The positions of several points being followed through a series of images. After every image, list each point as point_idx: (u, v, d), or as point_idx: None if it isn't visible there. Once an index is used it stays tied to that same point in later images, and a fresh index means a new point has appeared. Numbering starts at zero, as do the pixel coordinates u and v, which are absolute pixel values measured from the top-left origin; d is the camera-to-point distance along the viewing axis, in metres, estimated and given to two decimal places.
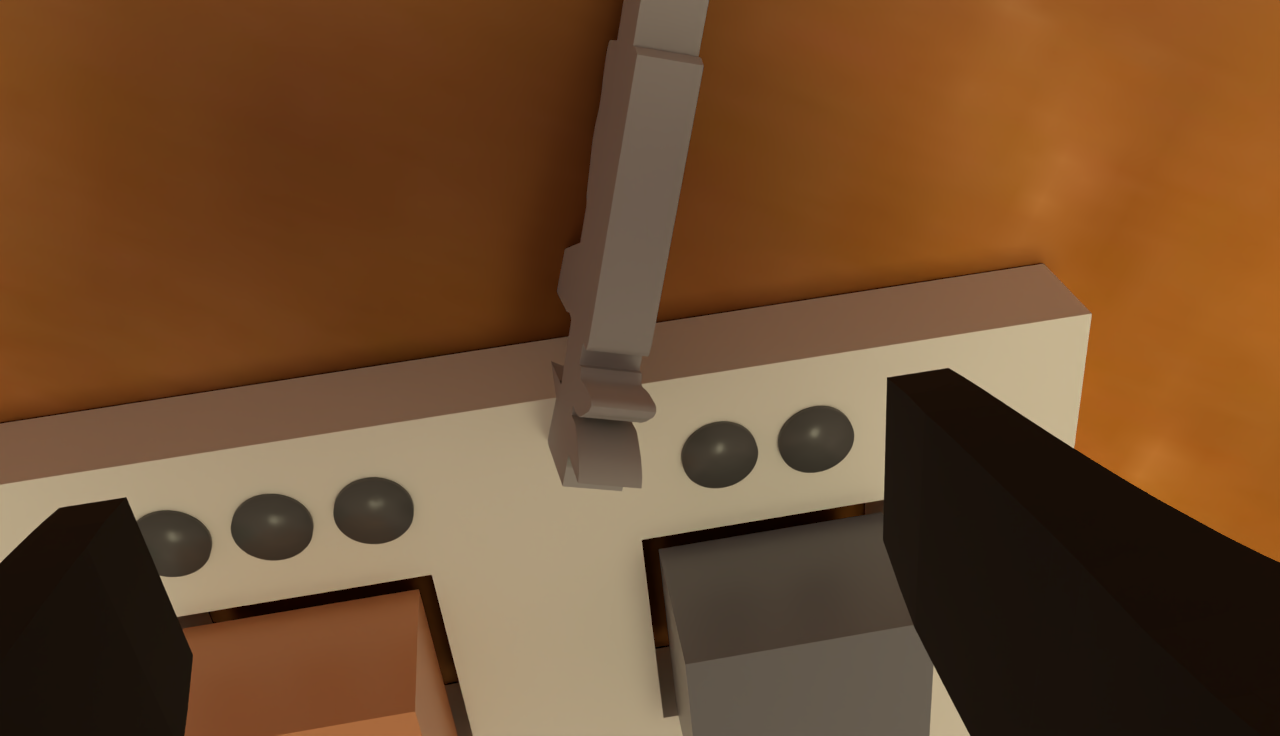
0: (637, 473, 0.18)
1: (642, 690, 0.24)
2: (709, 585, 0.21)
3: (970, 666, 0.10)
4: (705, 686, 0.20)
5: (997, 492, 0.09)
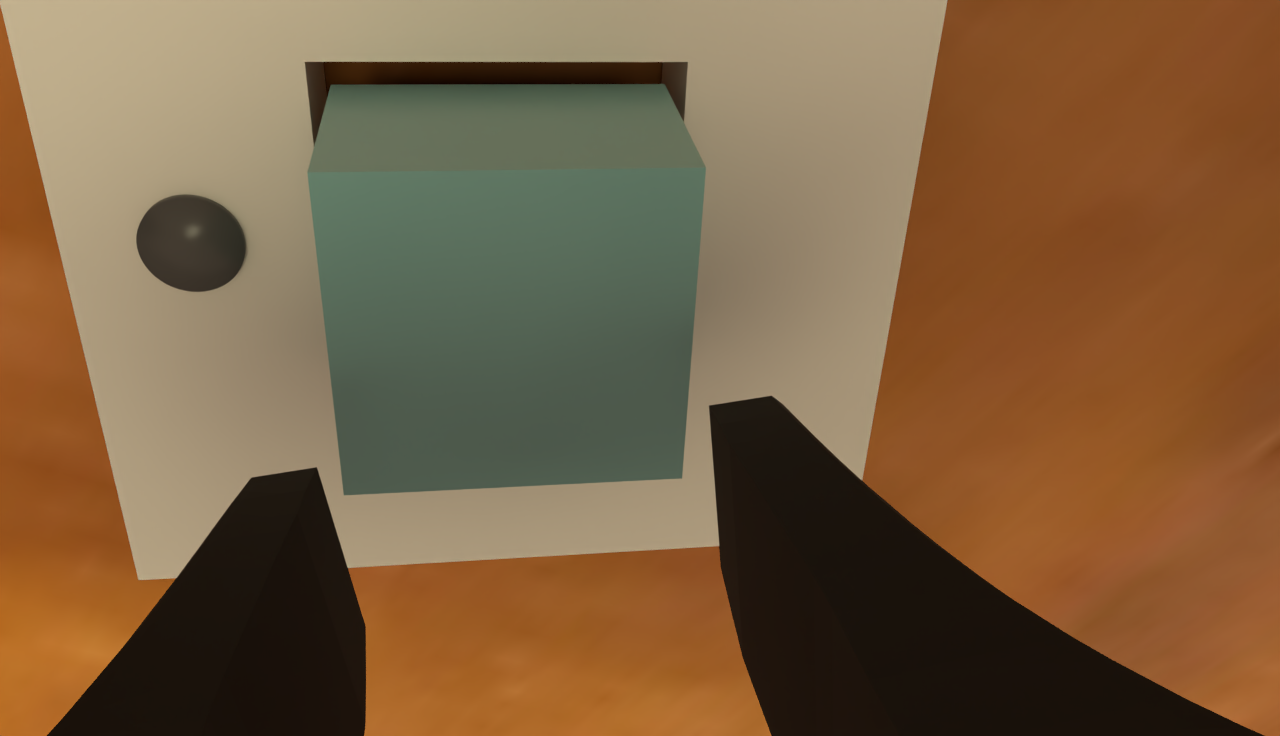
0: None
1: None
2: None
3: (778, 701, 0.10)
4: None
5: (778, 528, 0.09)
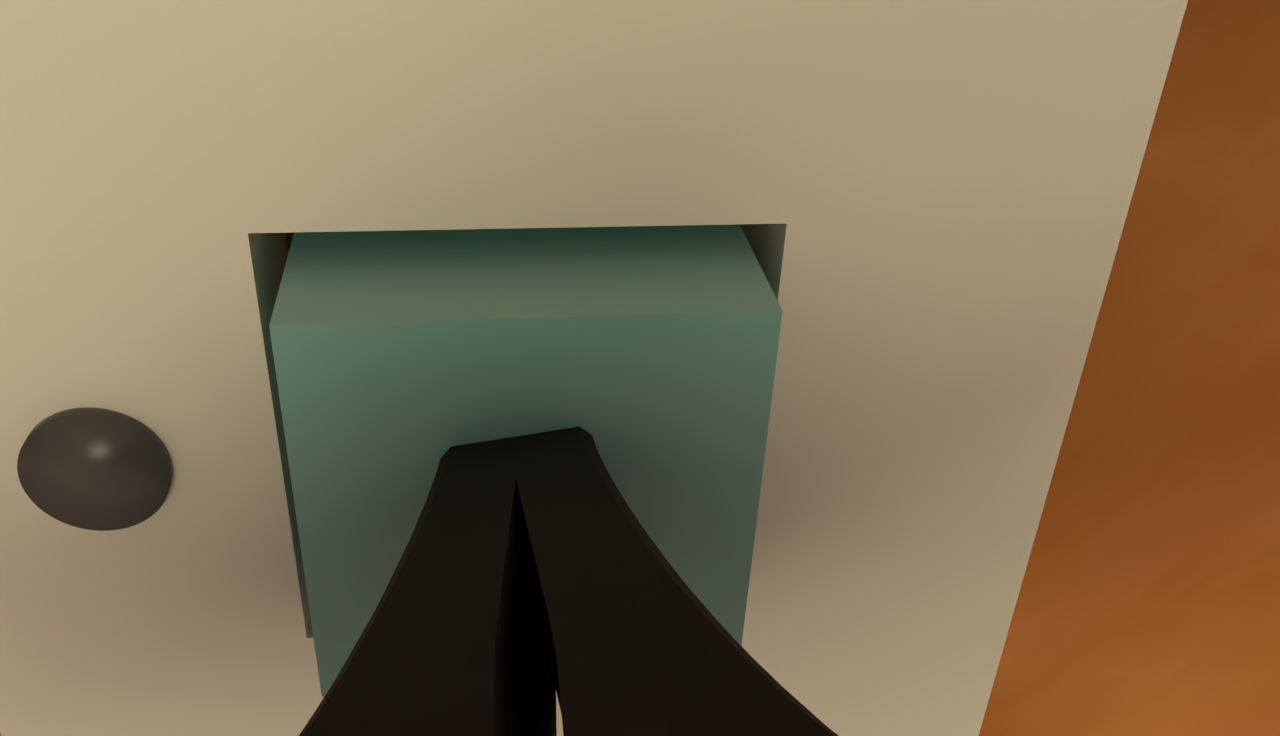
0: None
1: None
2: None
3: None
4: None
5: (537, 568, 0.09)
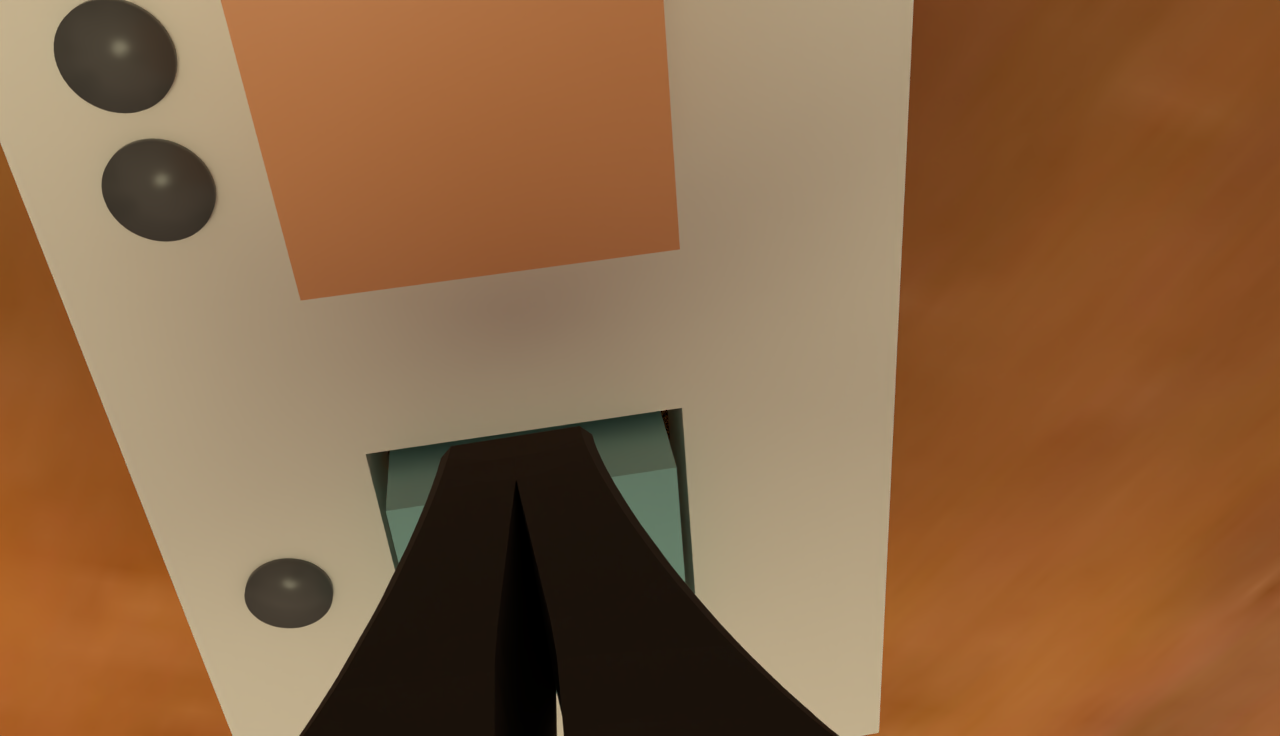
0: None
1: None
2: None
3: None
4: None
5: (538, 568, 0.09)
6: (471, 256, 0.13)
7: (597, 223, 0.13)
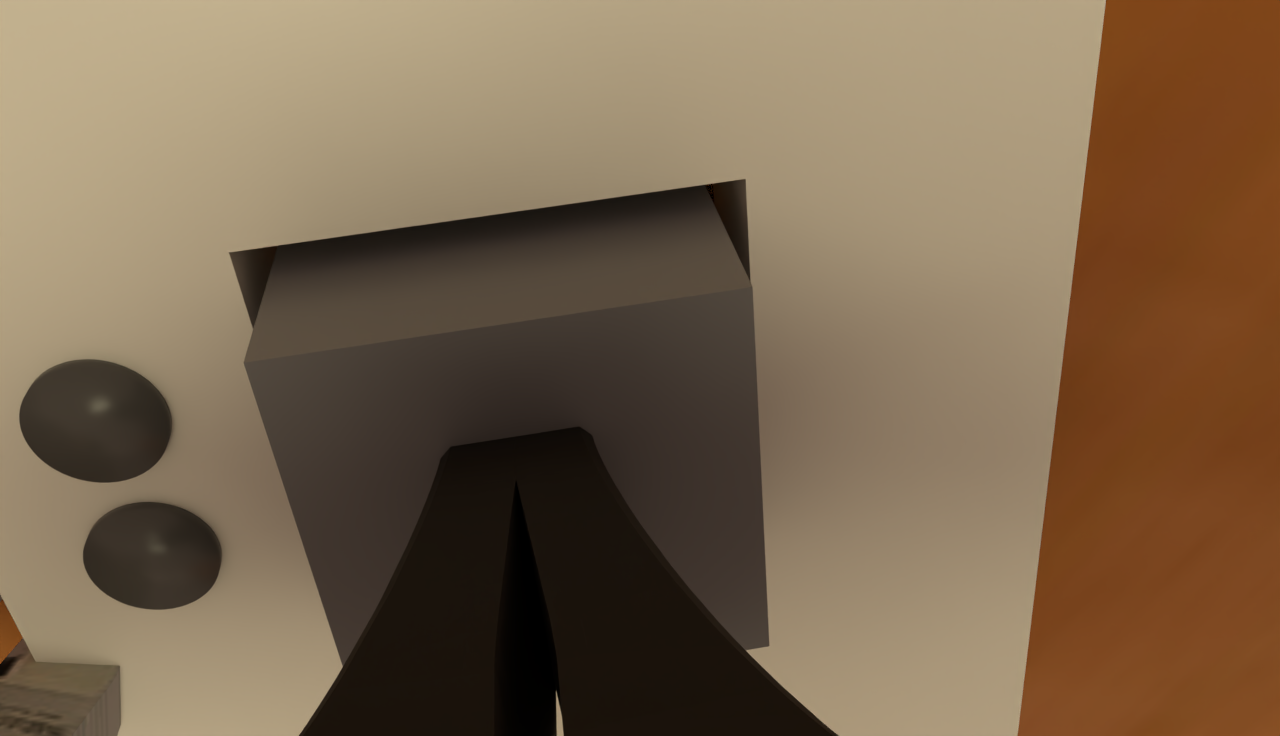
0: None
1: None
2: None
3: None
4: None
5: (538, 568, 0.09)
6: None
7: None
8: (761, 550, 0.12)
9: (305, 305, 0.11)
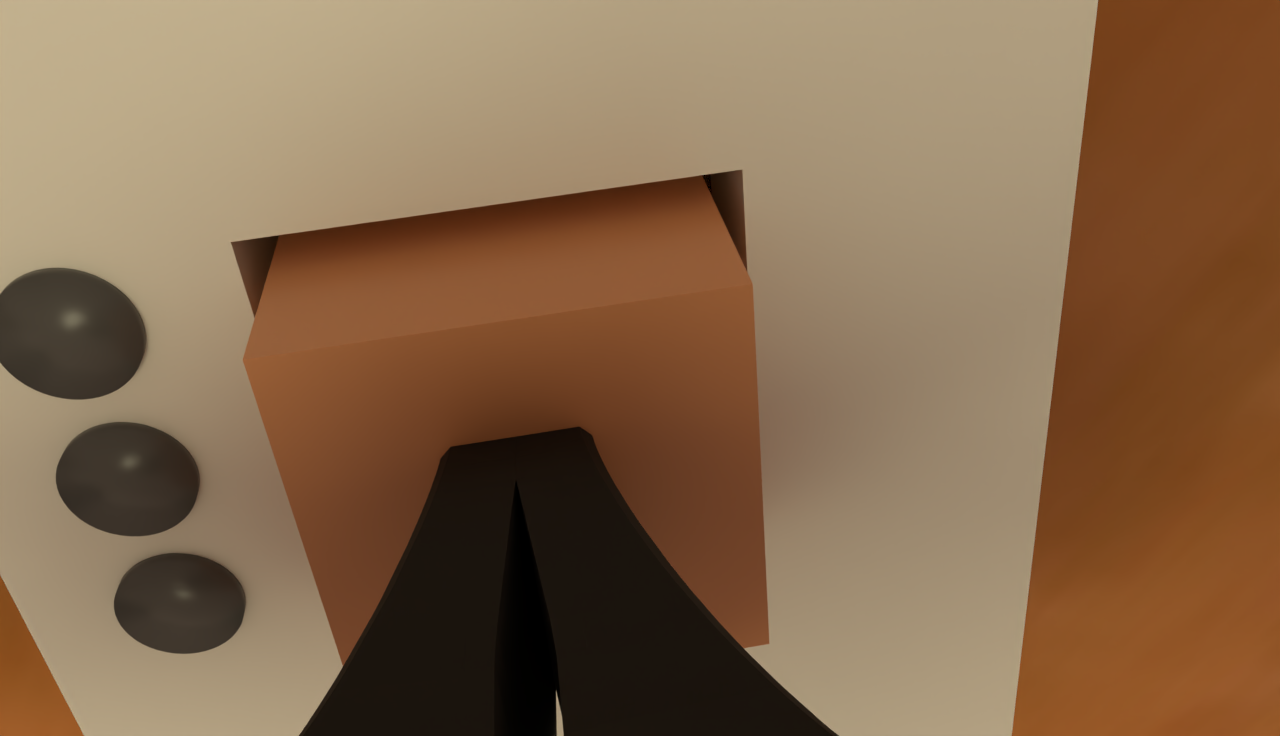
0: None
1: None
2: None
3: None
4: None
5: (537, 568, 0.09)
6: None
7: None
8: None
9: None
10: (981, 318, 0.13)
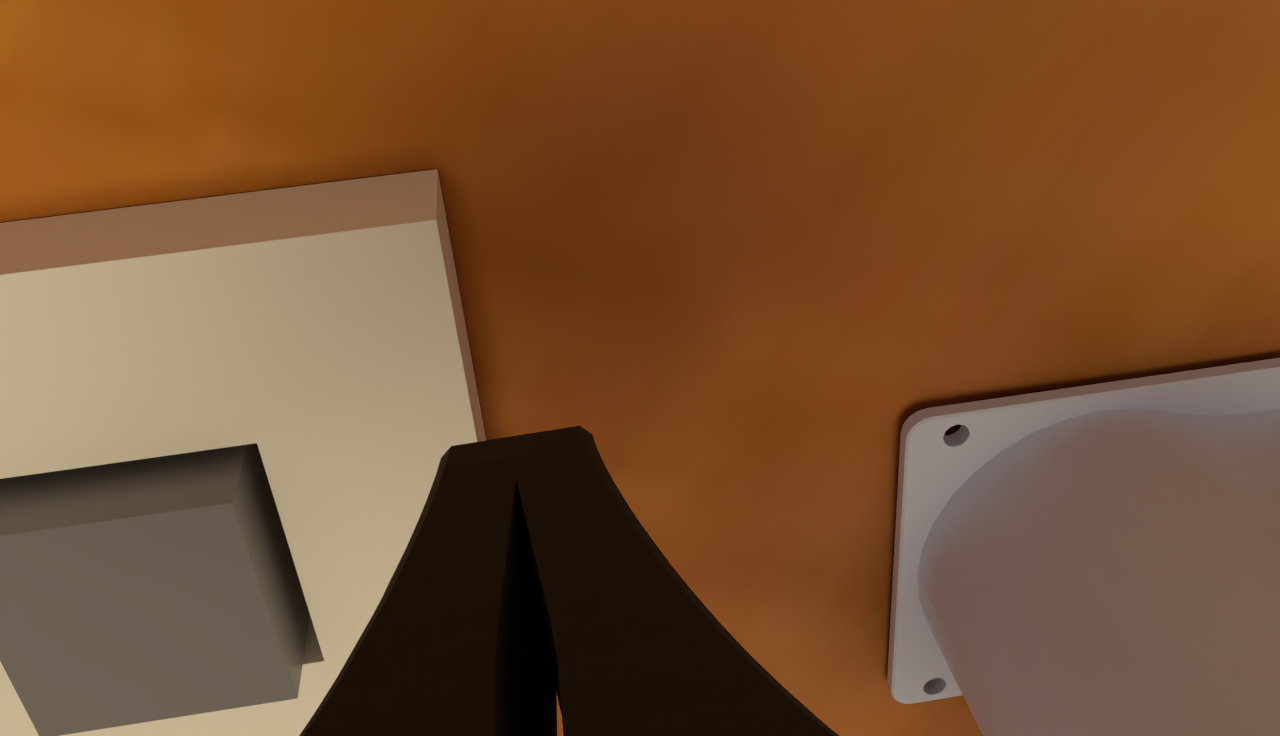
0: None
1: None
2: None
3: None
4: (71, 720, 0.20)
5: (538, 568, 0.09)
6: None
7: None
8: (277, 642, 0.20)
9: None
10: None
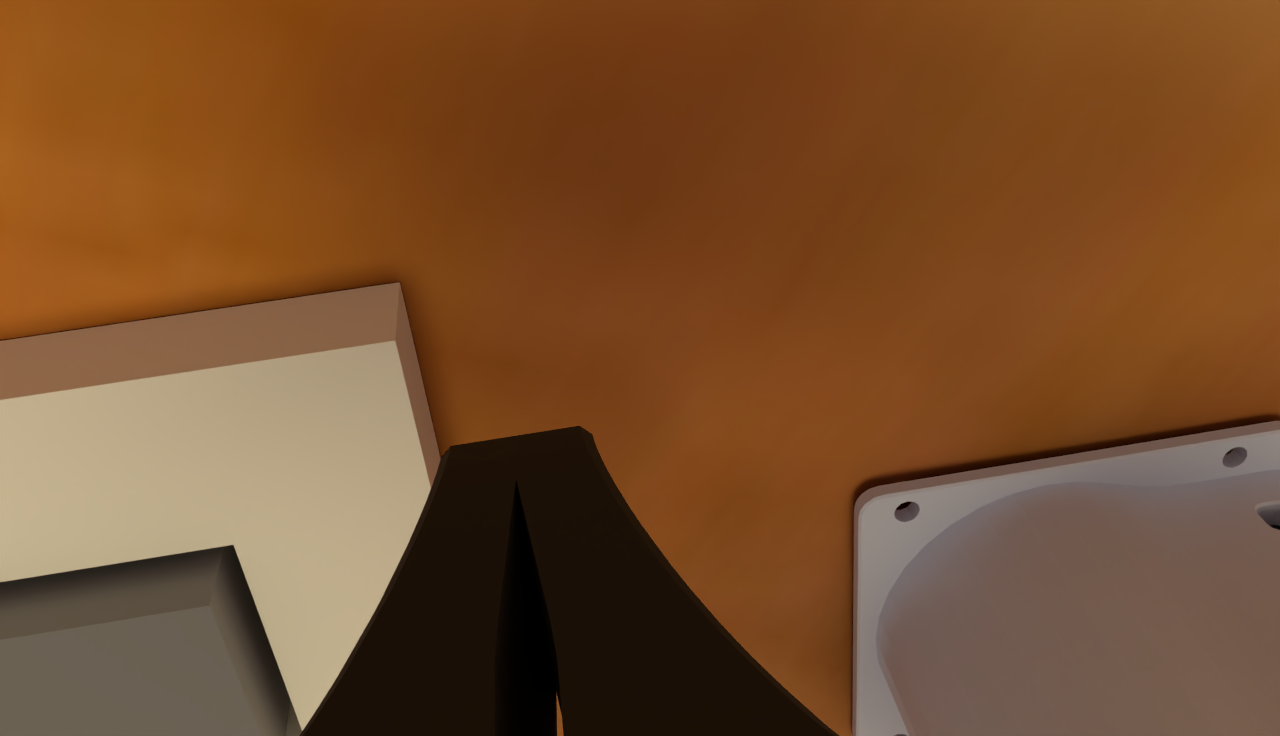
0: None
1: None
2: None
3: None
4: None
5: (538, 568, 0.09)
6: None
7: None
8: (257, 729, 0.21)
9: None
10: None
